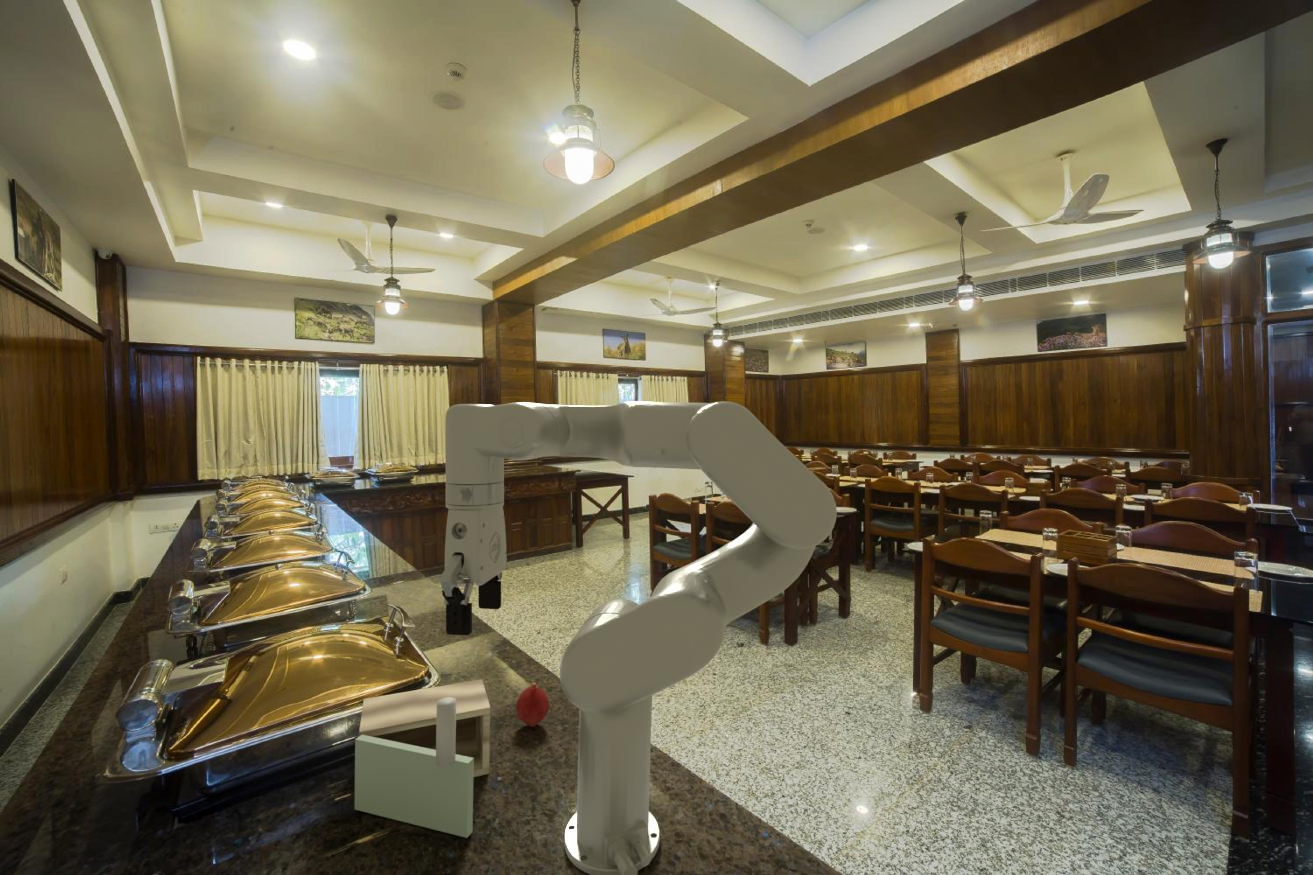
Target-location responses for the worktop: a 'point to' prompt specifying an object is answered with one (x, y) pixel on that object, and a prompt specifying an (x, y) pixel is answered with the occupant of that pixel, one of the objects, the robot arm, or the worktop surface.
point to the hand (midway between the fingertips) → (475, 620)
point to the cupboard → (433, 719)
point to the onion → (532, 705)
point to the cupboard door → (417, 778)
